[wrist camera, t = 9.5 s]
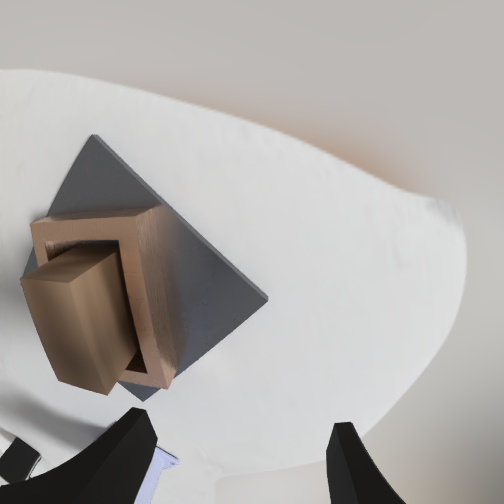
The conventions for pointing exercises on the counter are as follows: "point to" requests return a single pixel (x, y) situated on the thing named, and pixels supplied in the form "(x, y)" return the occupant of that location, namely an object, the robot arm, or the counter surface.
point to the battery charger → (18, 462)
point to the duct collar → (148, 265)
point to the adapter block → (83, 316)
